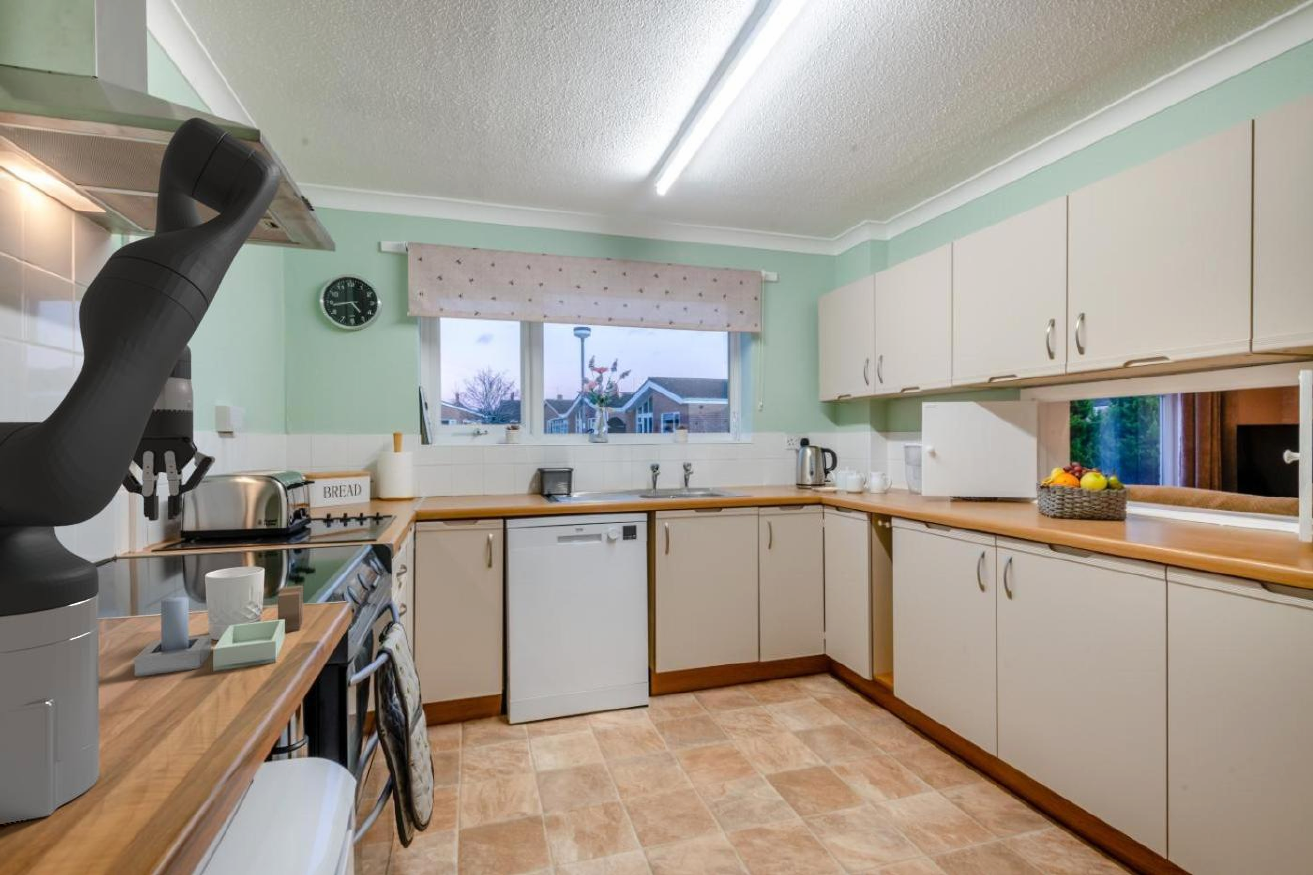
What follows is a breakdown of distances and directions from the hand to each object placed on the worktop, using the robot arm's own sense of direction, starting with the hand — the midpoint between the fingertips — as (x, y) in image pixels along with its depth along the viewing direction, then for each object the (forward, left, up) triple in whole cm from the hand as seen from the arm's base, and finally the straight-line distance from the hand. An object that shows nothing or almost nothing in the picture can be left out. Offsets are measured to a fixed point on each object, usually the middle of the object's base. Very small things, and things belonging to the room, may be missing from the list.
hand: (162, 519), depth 93 cm
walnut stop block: (0, -17, -19) cm, 26 cm away
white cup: (0, -9, -19) cm, 21 cm away
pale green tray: (-12, -13, -19) cm, 26 cm away
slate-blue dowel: (-12, -4, -19) cm, 23 cm away
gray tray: (-12, -4, -19) cm, 23 cm away
